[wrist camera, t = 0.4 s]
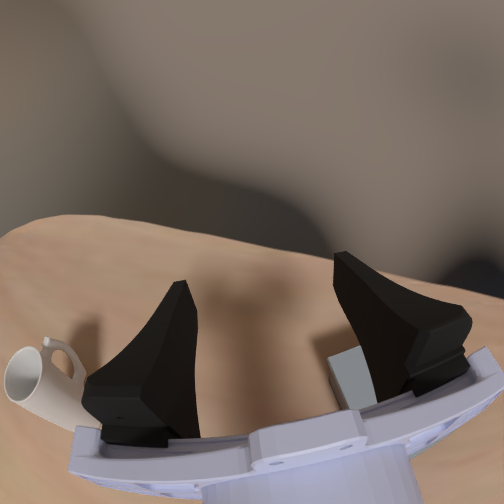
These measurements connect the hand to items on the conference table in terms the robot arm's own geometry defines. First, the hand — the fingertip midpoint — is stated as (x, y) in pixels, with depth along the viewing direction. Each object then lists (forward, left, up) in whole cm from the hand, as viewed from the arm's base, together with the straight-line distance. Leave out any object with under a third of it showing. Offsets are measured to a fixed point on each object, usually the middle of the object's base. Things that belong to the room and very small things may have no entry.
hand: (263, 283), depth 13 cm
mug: (+4, +24, -20) cm, 32 cm away
